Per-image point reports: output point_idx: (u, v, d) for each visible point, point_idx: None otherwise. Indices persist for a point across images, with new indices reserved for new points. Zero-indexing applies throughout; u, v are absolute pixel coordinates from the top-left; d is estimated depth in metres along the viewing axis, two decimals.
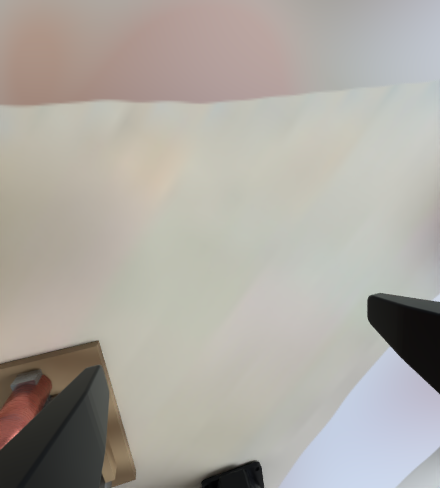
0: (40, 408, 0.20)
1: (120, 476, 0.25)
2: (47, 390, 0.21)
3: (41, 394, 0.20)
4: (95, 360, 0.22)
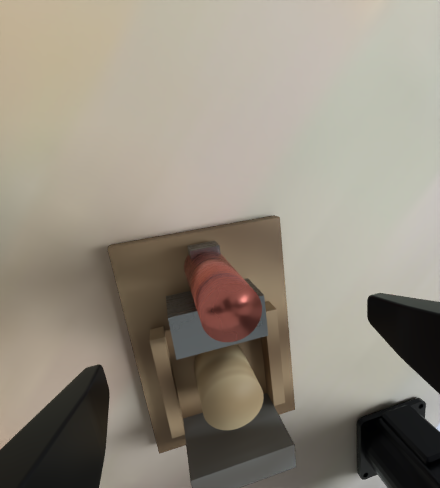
0: None
1: (279, 404, 0.20)
2: None
3: None
4: (275, 238, 0.17)
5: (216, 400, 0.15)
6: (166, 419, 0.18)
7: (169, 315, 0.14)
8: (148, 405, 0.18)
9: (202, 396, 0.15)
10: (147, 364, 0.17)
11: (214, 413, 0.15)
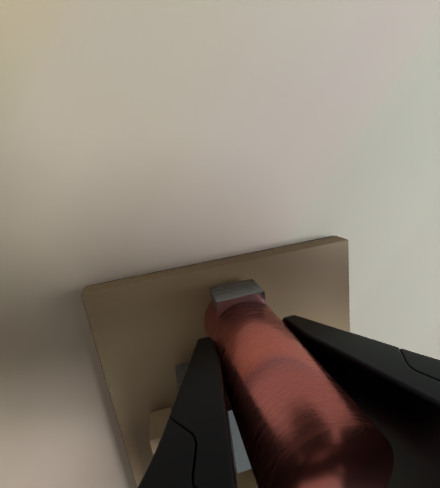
0: None
1: None
2: None
3: None
4: (340, 270, 0.11)
5: None
6: None
7: None
8: None
9: None
10: (146, 462, 0.11)
11: None
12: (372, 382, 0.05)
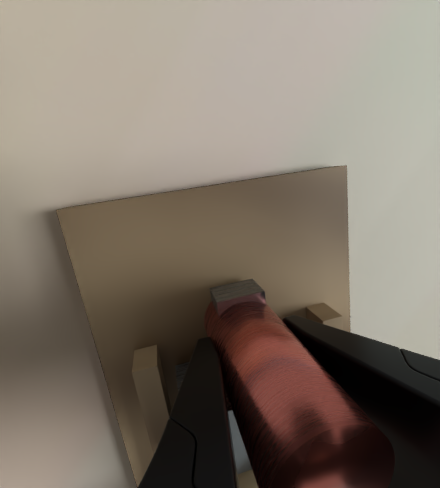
0: None
1: None
2: None
3: None
4: (338, 200, 0.10)
5: None
6: None
7: None
8: (134, 469, 0.11)
9: None
10: (131, 406, 0.10)
11: None
12: (372, 382, 0.05)
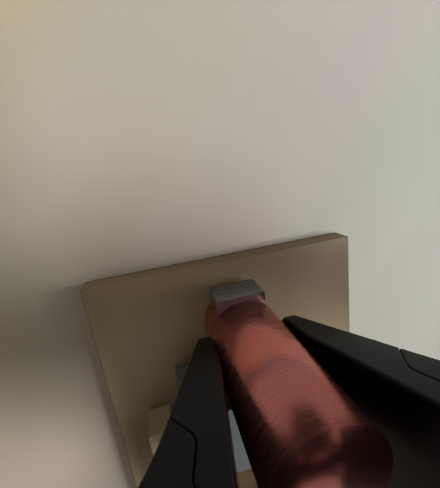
0: None
1: None
2: None
3: None
4: (339, 267, 0.11)
5: None
6: None
7: None
8: None
9: None
10: (145, 459, 0.11)
11: None
12: (371, 382, 0.05)
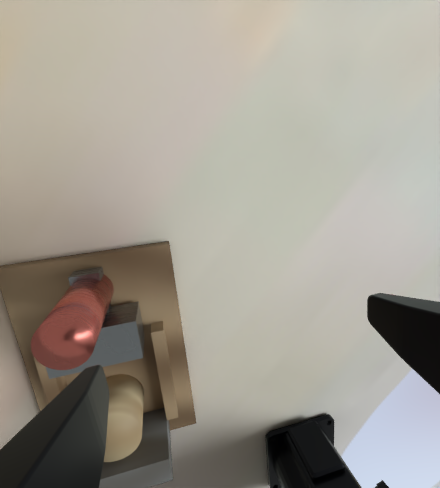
0: (107, 306, 0.15)
1: (179, 417, 0.21)
2: (111, 291, 0.16)
3: (107, 291, 0.16)
4: (166, 263, 0.18)
5: None
6: None
7: None
8: None
9: None
10: (40, 378, 0.18)
11: None
12: None
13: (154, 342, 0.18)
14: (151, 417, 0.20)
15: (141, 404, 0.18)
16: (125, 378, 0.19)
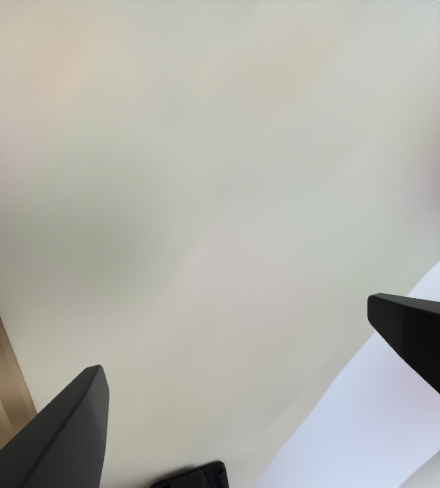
0: None
1: None
2: None
3: None
4: None
5: None
6: None
7: None
8: None
9: None
10: None
11: None
12: None
13: None
14: None
15: None
16: None
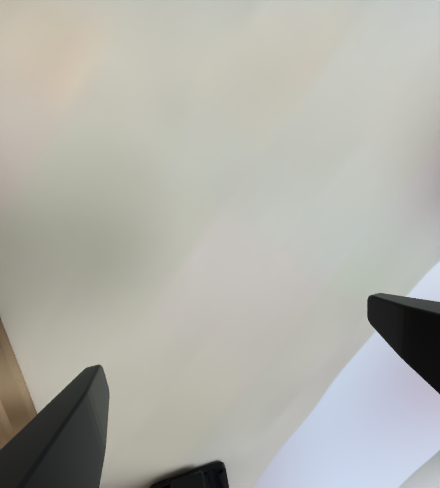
0: None
1: None
2: None
3: None
4: None
5: None
6: None
7: None
8: None
9: None
10: None
11: None
12: None
13: None
14: None
15: None
16: None
